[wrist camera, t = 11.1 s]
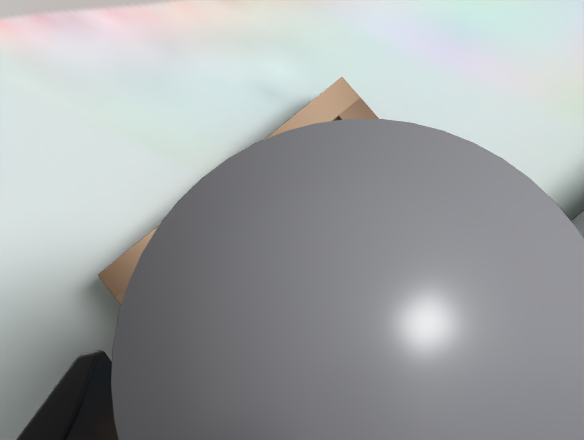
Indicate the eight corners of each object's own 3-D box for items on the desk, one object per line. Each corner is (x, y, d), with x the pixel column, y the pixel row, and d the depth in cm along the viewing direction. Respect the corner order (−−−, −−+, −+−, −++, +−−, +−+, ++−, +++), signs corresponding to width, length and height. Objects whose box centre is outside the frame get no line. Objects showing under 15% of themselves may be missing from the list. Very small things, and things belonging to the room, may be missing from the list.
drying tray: (301, 511, 17) (301, 539, 16) (117, 274, 18) (97, 275, 17) (530, 314, 18) (555, 319, 16) (338, 94, 19) (342, 76, 17)
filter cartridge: (355, 397, 17) (499, 755, 4) (224, 329, 17) (18, 487, 5) (418, 264, 17) (708, 252, 5) (289, 201, 18) (253, 40, 5)
